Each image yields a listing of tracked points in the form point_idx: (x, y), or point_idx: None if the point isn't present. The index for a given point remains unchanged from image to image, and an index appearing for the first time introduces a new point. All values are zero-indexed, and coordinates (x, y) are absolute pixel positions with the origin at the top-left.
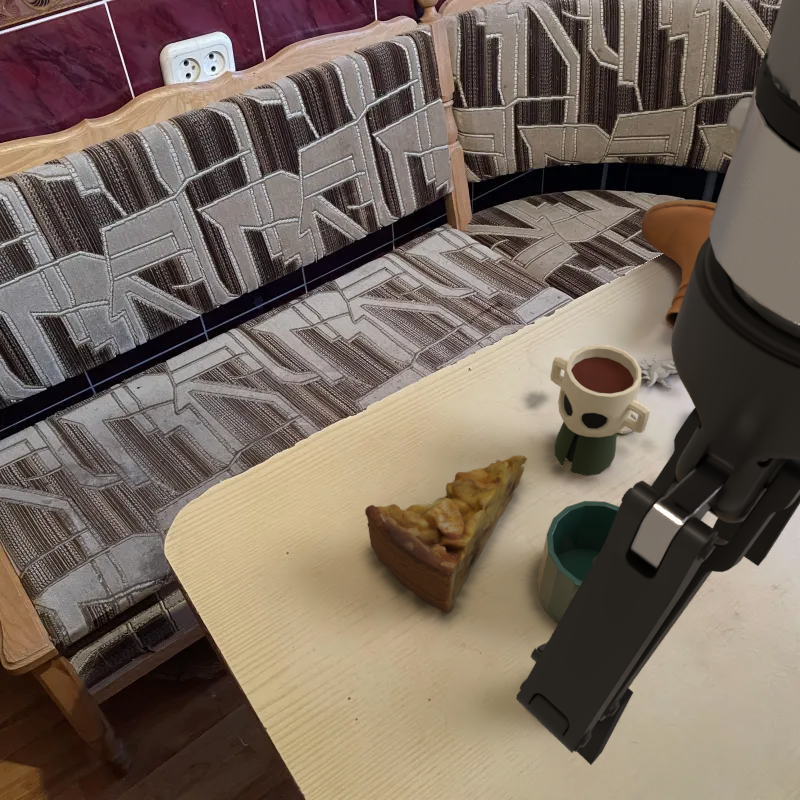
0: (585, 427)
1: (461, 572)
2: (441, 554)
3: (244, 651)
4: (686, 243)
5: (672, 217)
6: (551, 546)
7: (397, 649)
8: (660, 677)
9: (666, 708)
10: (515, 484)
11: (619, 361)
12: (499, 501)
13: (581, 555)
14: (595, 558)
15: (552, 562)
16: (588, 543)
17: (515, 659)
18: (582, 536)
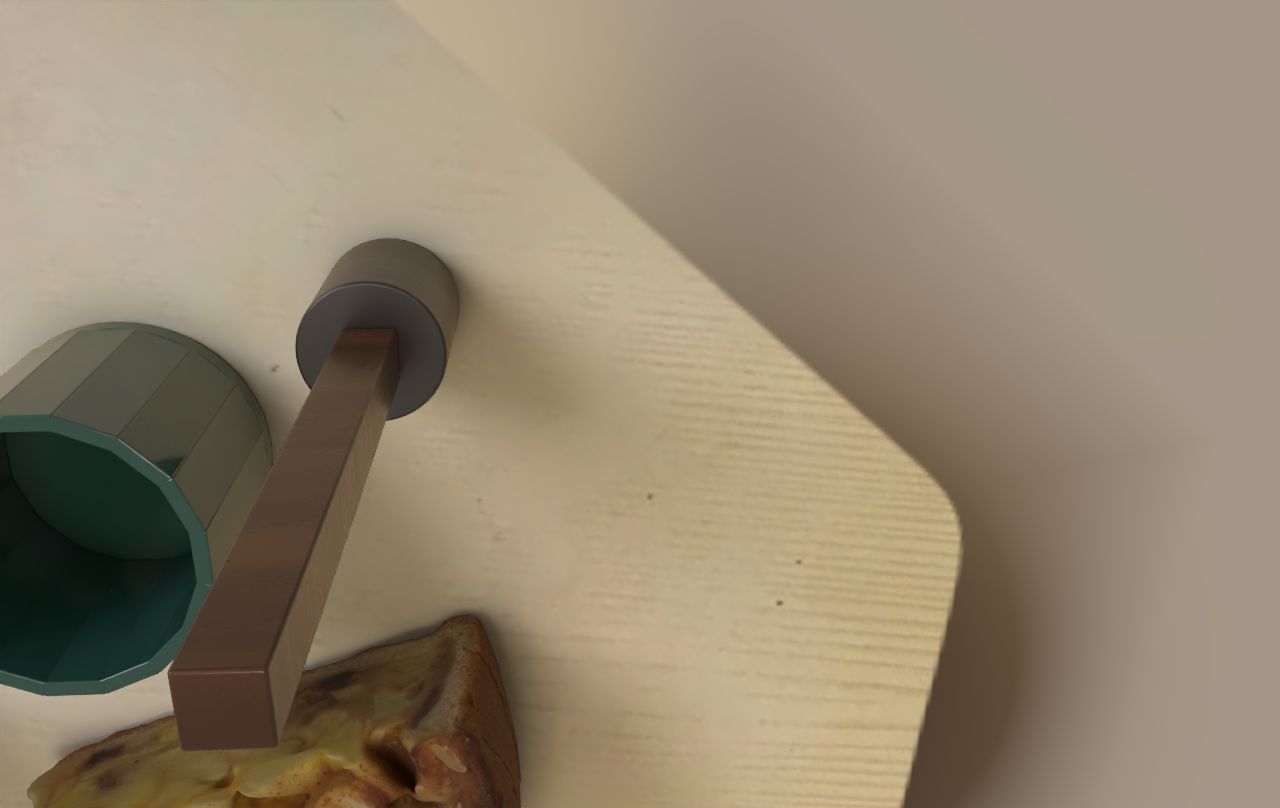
0: None
1: (390, 681)
2: (439, 783)
3: (871, 798)
4: None
5: None
6: (177, 640)
7: (624, 618)
8: (149, 171)
9: (200, 110)
10: (83, 761)
11: None
12: (164, 761)
13: (77, 522)
14: (272, 746)
15: None
16: (39, 540)
17: (423, 438)
18: (44, 570)
